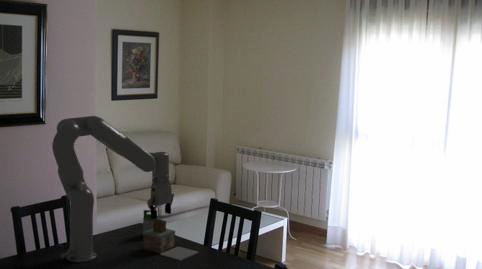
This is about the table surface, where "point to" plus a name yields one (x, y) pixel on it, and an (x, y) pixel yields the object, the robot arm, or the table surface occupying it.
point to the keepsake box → (159, 243)
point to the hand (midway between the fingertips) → (160, 215)
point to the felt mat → (179, 253)
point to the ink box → (147, 221)
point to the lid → (159, 229)
